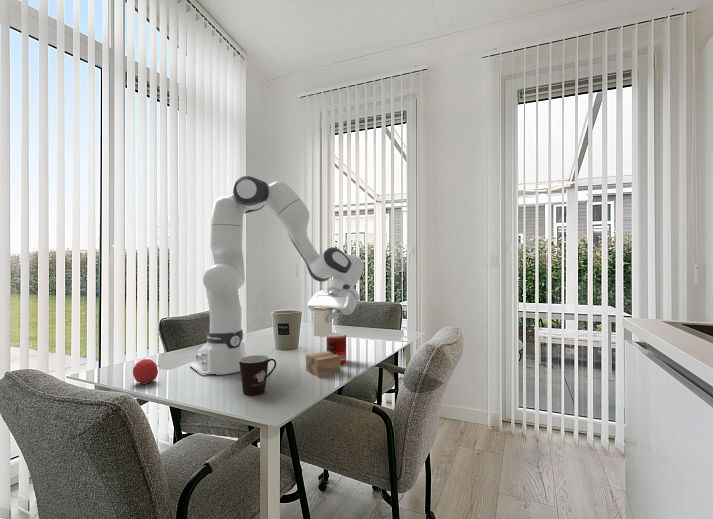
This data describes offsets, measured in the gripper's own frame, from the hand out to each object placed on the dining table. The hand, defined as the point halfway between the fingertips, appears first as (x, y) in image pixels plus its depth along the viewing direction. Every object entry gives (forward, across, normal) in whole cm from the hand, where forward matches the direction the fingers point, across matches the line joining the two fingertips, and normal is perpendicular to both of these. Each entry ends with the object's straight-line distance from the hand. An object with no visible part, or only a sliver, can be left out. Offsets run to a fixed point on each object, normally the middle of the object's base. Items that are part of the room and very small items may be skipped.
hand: (321, 320), depth 128 cm
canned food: (+4, -4, +22) cm, 23 cm away
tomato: (+43, -39, -17) cm, 61 cm away
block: (+13, 0, +14) cm, 19 cm away
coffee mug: (+31, -2, -5) cm, 32 cm away
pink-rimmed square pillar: (+3, 0, +4) cm, 5 cm away
